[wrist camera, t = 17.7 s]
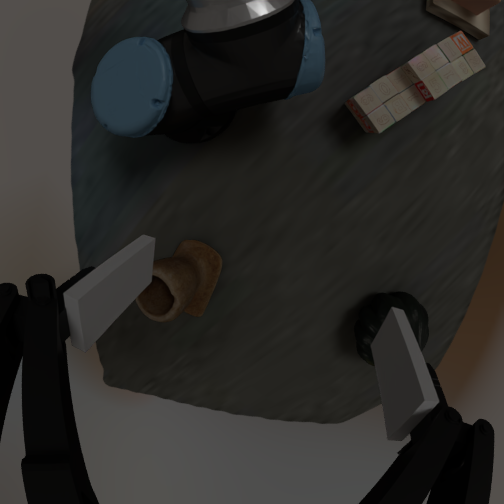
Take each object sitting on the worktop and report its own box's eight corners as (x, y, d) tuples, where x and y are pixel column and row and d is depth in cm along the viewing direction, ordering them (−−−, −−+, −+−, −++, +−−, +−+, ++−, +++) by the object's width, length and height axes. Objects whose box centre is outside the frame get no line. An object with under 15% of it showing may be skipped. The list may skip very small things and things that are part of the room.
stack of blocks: (365, 134, 44) (384, 134, 32) (343, 103, 42) (355, 93, 31) (452, 77, 36) (487, 66, 25) (432, 47, 35) (462, 29, 23)
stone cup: (175, 225, 56) (136, 256, 42) (231, 253, 56) (207, 293, 42) (155, 286, 62) (120, 325, 48) (204, 312, 62) (179, 358, 48)
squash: (327, 338, 53) (378, 397, 42) (372, 273, 47) (436, 332, 37) (364, 331, 62) (408, 377, 51) (402, 276, 56) (454, 322, 46)
